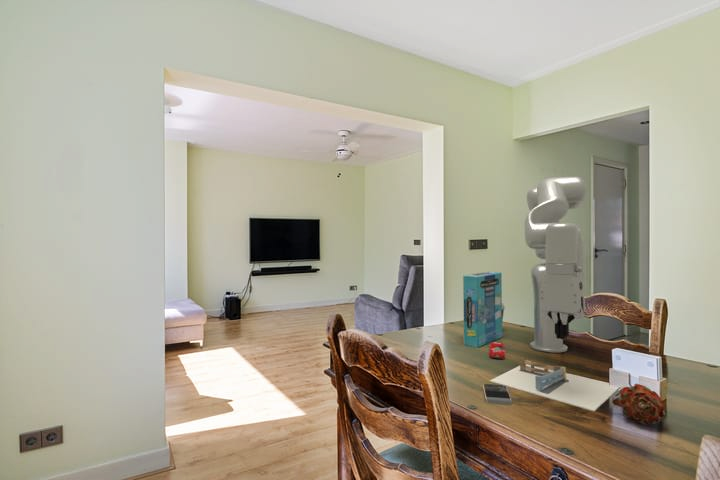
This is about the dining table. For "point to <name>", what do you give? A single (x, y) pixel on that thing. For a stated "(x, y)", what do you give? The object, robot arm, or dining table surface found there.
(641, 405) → the dragon fruit
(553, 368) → the fence section
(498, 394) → the cell phone
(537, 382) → the panel
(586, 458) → the dining table surface
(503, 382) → the card
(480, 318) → the game box
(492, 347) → the race car
